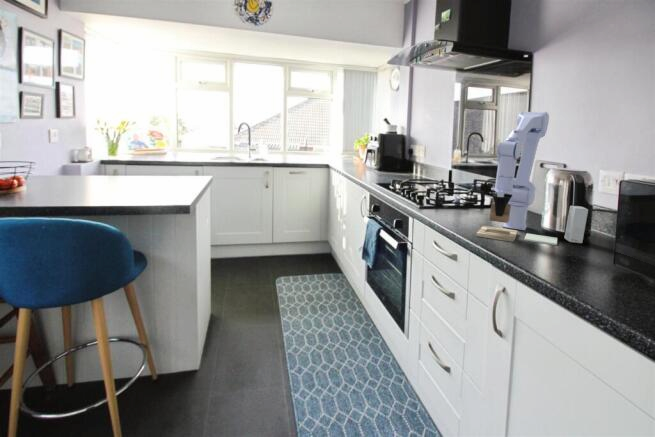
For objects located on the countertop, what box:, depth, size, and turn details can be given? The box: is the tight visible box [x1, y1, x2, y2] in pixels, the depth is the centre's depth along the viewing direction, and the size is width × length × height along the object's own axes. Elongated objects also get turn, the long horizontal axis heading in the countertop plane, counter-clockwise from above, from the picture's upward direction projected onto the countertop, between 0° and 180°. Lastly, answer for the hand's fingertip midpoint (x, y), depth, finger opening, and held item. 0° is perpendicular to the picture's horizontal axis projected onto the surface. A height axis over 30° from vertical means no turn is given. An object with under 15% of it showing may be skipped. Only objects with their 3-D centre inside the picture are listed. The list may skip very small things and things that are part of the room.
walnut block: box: [488, 202, 511, 224], centre depth 156 cm, size 4×6×6 cm, turn 62°
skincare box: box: [564, 205, 589, 244], centre depth 154 cm, size 6×4×12 cm
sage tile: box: [523, 232, 558, 246], centre depth 154 cm, size 10×10×1 cm
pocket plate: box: [475, 225, 518, 243], centre depth 157 cm, size 14×12×1 cm
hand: (499, 215), depth 156 cm, fingers closed on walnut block, 4 cm apart
